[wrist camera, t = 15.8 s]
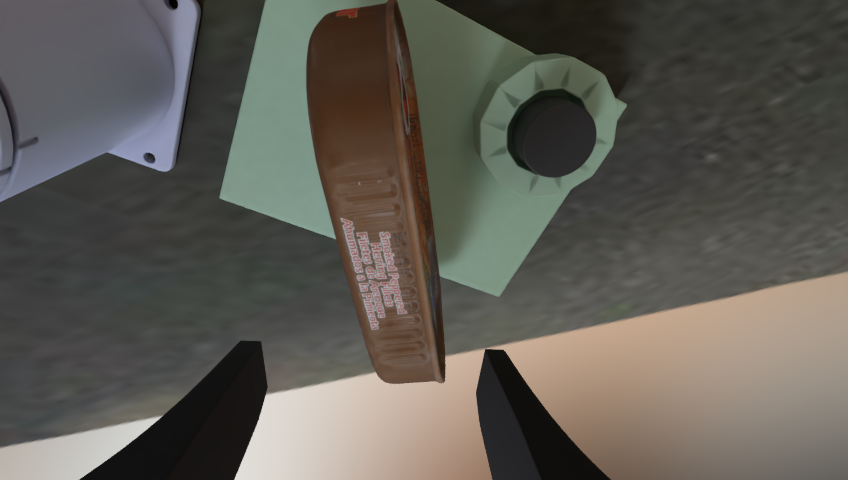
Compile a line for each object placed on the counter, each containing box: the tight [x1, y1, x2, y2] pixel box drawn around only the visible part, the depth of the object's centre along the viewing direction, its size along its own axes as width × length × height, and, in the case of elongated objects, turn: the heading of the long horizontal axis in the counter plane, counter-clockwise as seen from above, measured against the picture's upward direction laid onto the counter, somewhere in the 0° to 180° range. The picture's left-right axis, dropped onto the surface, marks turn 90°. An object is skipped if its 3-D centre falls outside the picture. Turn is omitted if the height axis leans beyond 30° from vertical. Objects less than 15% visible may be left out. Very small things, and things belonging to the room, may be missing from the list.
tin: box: [306, 0, 445, 384], centre depth 16 cm, size 15×3×8 cm, turn 7°
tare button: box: [512, 96, 597, 178], centre depth 17 cm, size 3×3×2 cm
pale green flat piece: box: [220, 0, 627, 297], centre depth 19 cm, size 16×12×3 cm
